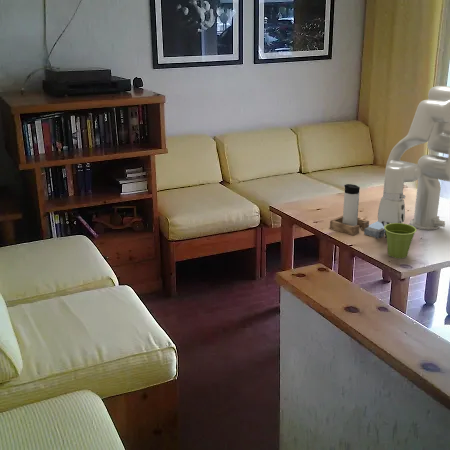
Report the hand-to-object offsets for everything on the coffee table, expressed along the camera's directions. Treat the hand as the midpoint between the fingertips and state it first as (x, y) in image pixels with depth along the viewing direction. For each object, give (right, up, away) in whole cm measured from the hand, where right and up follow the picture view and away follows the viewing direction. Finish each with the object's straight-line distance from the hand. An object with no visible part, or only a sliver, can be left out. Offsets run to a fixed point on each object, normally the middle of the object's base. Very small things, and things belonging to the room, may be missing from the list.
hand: (388, 237), depth 231 cm
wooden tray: (-14, +4, +13) cm, 19 cm away
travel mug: (-14, +4, +13) cm, 19 cm away
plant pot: (-1, -7, -15) cm, 16 cm away
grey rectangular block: (-5, +1, +5) cm, 8 cm away
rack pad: (+1, +4, +14) cm, 14 cm away
